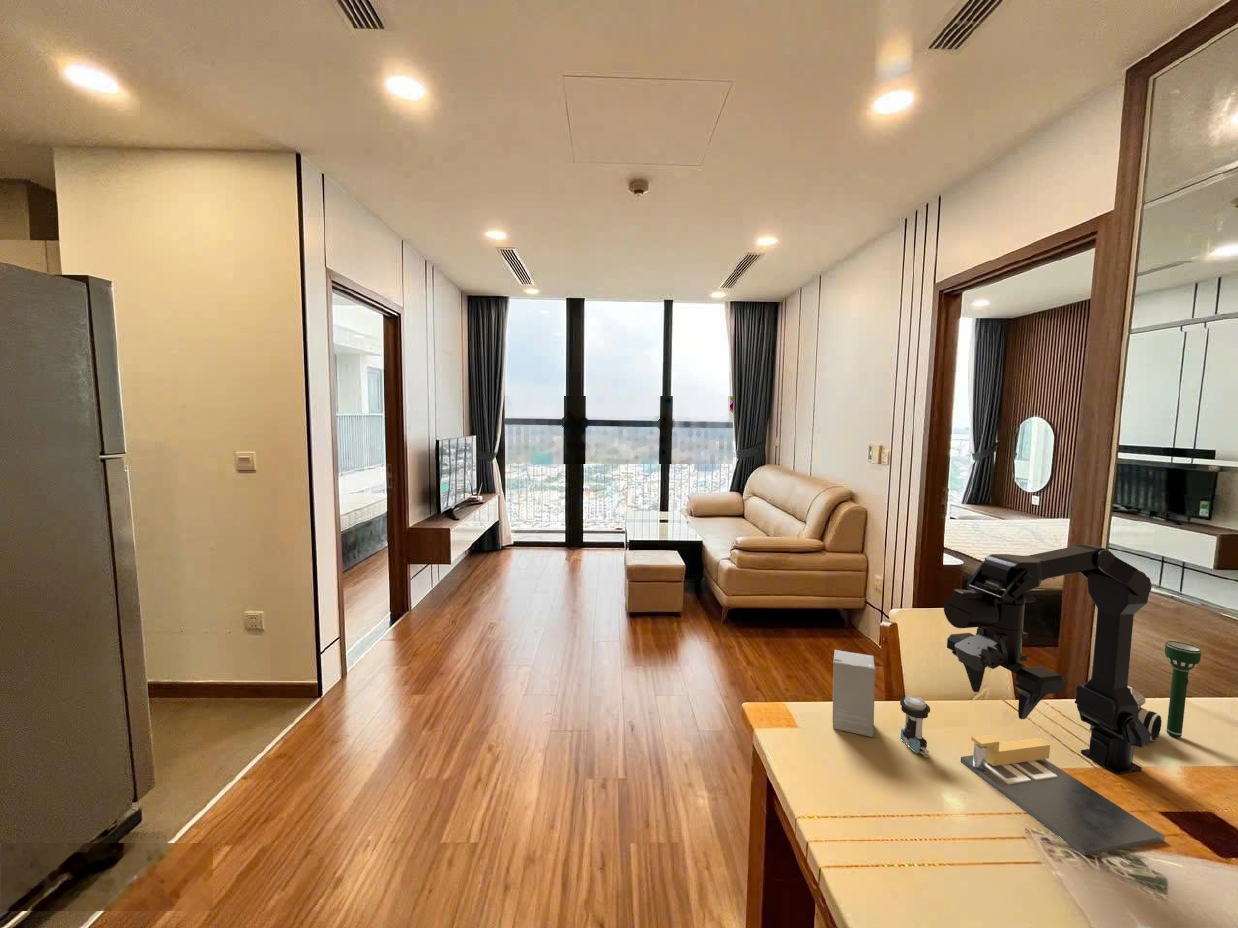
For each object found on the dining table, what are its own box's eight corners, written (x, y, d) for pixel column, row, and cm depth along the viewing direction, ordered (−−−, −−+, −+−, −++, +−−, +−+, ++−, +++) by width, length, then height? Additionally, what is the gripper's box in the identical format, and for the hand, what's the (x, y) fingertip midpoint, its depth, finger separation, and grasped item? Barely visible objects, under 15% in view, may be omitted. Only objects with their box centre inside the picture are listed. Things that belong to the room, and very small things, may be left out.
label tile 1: (1025, 755, 98) (1025, 754, 98) (1057, 777, 92) (1057, 775, 92) (1004, 758, 97) (1004, 756, 97) (1035, 780, 91) (1035, 778, 91)
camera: (1136, 756, 100) (1141, 709, 100) (1082, 732, 108) (1086, 688, 107) (1166, 734, 108) (1171, 690, 107) (1113, 714, 115) (1117, 672, 114)
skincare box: (872, 722, 110) (876, 654, 109) (873, 741, 104) (877, 668, 103) (831, 712, 114) (834, 646, 113) (829, 729, 107) (833, 659, 106)
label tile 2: (1000, 759, 97) (1000, 757, 97) (1030, 780, 91) (1031, 778, 91) (978, 762, 96) (978, 760, 96) (1008, 784, 90) (1008, 782, 90)
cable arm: (979, 767, 94) (981, 743, 93) (969, 760, 96) (971, 736, 95) (1048, 758, 97) (1050, 734, 96) (1037, 751, 99) (1039, 728, 98)
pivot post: (978, 767, 96) (980, 741, 96) (987, 774, 94) (989, 747, 94) (969, 768, 96) (971, 742, 95) (978, 775, 94) (980, 748, 93)
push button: (939, 758, 99) (942, 710, 98) (915, 760, 98) (918, 712, 97) (914, 737, 105) (917, 692, 104) (891, 739, 104) (894, 694, 104)
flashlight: (1191, 745, 104) (1201, 653, 102) (1155, 733, 108) (1164, 644, 106) (1192, 736, 107) (1202, 646, 106) (1157, 724, 111) (1166, 638, 109)
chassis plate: (1027, 752, 101) (1027, 747, 101) (1164, 841, 79) (1164, 835, 79) (960, 761, 98) (961, 756, 98) (1084, 856, 76) (1084, 850, 76)
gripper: (925, 608, 99) (921, 683, 101) (1016, 650, 81) (1010, 740, 82) (972, 605, 102) (967, 678, 103) (1071, 644, 83) (1064, 732, 85)
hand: (997, 704), depth 93 cm, fingers open, 9 cm apart
